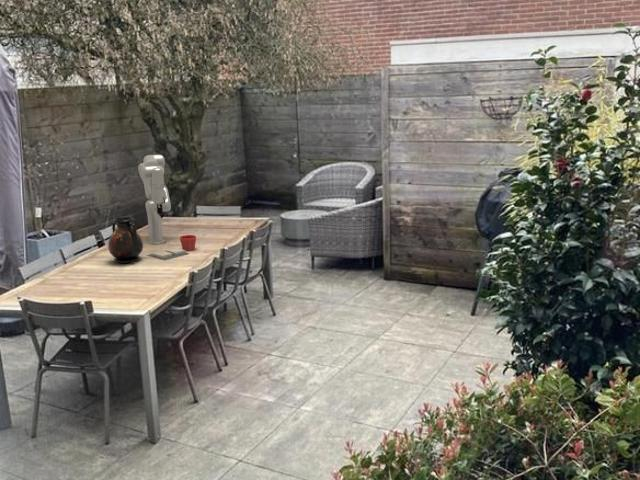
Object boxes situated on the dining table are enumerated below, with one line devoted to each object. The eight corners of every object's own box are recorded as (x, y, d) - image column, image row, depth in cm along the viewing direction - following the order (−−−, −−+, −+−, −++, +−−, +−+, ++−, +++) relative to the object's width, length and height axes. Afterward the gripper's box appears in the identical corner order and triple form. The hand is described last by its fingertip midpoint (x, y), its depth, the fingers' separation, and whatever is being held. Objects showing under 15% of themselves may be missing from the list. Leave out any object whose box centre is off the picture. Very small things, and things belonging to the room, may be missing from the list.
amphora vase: (151, 258, 393) (148, 216, 386) (128, 267, 374) (124, 223, 367) (126, 255, 402) (122, 214, 395) (102, 263, 383) (98, 220, 376)
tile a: (166, 250, 403) (175, 252, 397) (176, 248, 409) (185, 250, 403) (166, 253, 404) (175, 255, 398) (176, 250, 410) (185, 253, 404)
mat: (146, 256, 399) (146, 255, 398) (172, 249, 414) (172, 249, 414) (164, 261, 386) (164, 260, 386) (190, 254, 402) (190, 253, 402)
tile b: (153, 253, 395) (162, 255, 389) (163, 251, 401) (172, 253, 395) (153, 256, 396) (162, 258, 390) (163, 254, 402) (172, 256, 396)
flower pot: (193, 252, 407) (192, 238, 405) (178, 252, 409) (177, 238, 407) (199, 248, 417) (198, 235, 415) (184, 248, 419) (183, 234, 417)
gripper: (146, 185, 401) (148, 212, 407) (160, 188, 392) (161, 216, 397) (156, 184, 407) (158, 210, 412) (169, 187, 398) (171, 214, 403)
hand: (160, 213), depth 405 cm, fingers closed
